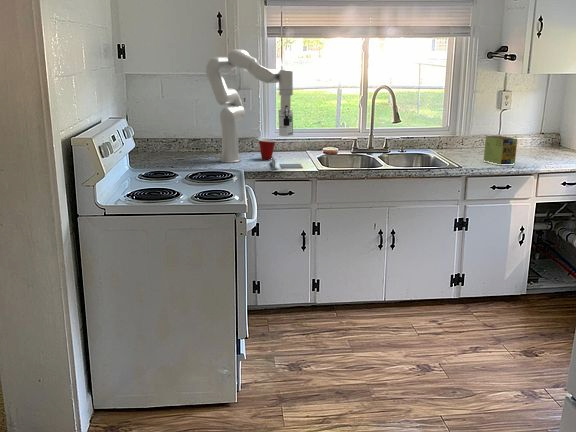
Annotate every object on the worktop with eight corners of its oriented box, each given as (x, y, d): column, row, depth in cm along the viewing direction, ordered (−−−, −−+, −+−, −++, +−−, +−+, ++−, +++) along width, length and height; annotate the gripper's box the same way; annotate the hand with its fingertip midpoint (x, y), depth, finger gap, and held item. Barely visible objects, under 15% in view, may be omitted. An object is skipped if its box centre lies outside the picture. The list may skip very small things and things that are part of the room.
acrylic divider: (271, 169, 327) (271, 160, 326) (269, 163, 346) (269, 154, 345) (277, 169, 327) (277, 160, 326) (274, 163, 347) (274, 154, 345)
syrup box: (287, 136, 329) (287, 109, 325) (278, 135, 332) (278, 109, 328) (293, 135, 333) (293, 109, 330) (284, 134, 337) (284, 108, 333)
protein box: (500, 166, 343) (503, 139, 339) (482, 162, 357) (485, 136, 353) (515, 165, 347) (518, 138, 343) (497, 161, 361) (499, 135, 357)
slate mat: (281, 168, 331) (281, 167, 331) (279, 164, 343) (279, 163, 343) (302, 168, 332) (302, 167, 332) (300, 164, 344) (300, 163, 344)
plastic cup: (277, 160, 356) (277, 140, 353) (258, 160, 355) (258, 140, 352) (275, 157, 366) (275, 138, 363) (257, 157, 365) (257, 138, 362)
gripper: (277, 91, 335) (278, 123, 339) (279, 93, 318) (280, 126, 323) (291, 91, 335) (291, 123, 340) (294, 93, 319) (294, 126, 323)
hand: (285, 124), depth 331 cm, fingers closed on syrup box, 7 cm apart
